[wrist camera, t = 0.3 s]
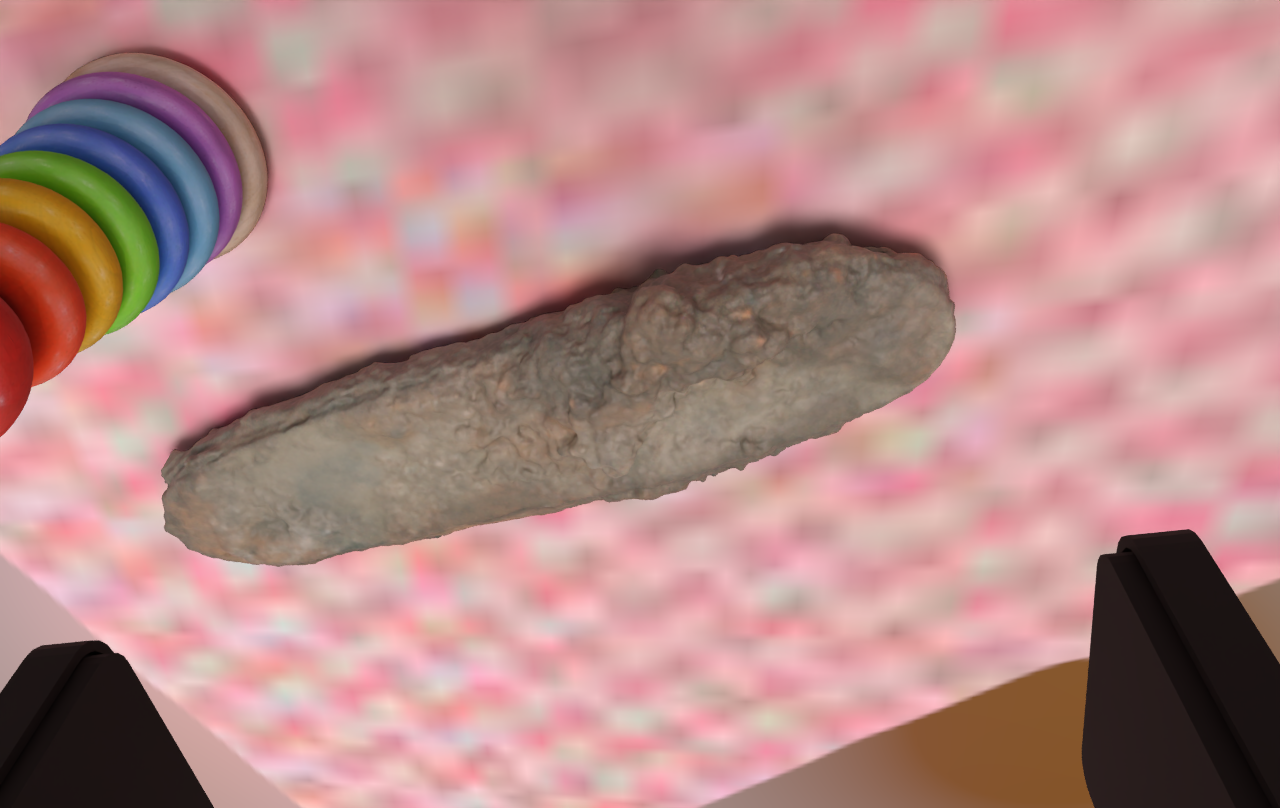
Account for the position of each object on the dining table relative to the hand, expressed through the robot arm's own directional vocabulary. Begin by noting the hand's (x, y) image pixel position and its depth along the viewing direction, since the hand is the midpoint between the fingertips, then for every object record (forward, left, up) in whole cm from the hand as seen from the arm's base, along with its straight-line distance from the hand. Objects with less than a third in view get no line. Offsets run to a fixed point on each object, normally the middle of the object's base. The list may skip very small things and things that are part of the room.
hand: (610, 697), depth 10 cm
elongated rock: (+15, -8, -32) cm, 36 cm away
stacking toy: (+2, -19, -32) cm, 37 cm away
